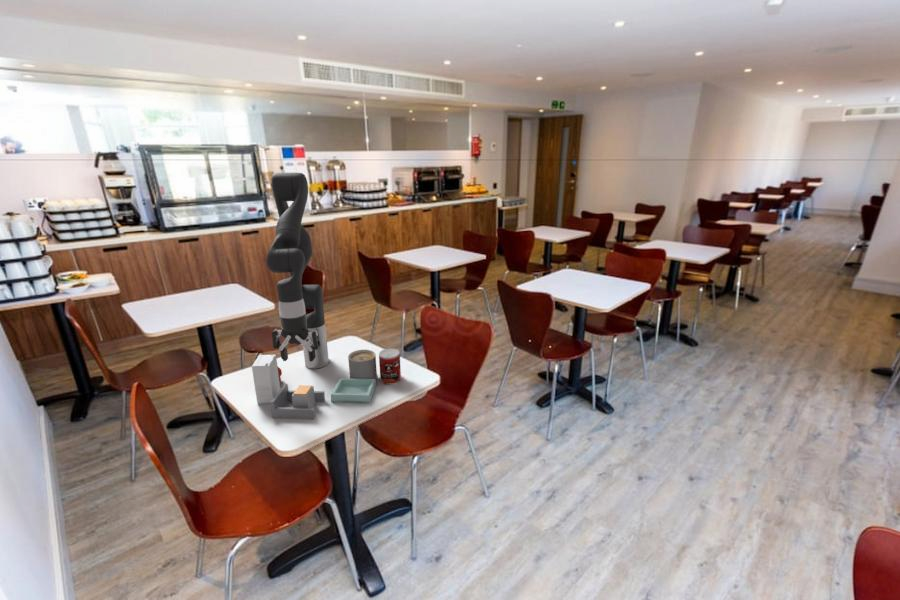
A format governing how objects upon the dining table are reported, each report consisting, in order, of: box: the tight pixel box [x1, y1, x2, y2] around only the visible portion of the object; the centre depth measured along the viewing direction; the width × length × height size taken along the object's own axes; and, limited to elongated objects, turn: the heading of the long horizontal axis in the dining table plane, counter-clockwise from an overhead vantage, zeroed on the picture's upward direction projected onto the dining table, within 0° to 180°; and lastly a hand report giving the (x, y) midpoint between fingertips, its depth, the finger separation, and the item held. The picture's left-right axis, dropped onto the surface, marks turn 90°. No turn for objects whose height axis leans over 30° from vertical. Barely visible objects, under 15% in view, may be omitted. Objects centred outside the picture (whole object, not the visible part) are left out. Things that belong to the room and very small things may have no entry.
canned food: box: [378, 348, 402, 385], centre depth 157 cm, size 8×8×11 cm
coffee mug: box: [347, 349, 378, 381], centre depth 158 cm, size 13×10×10 cm
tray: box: [330, 377, 377, 404], centre depth 148 cm, size 11×13×3 cm
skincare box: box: [251, 354, 281, 405], centre depth 144 cm, size 8×6×15 cm
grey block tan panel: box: [291, 384, 316, 409], centre depth 138 cm, size 6×5×8 cm
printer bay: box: [269, 383, 326, 420], centre depth 139 cm, size 11×14×6 cm
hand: (298, 360), depth 134 cm, fingers open, 8 cm apart
